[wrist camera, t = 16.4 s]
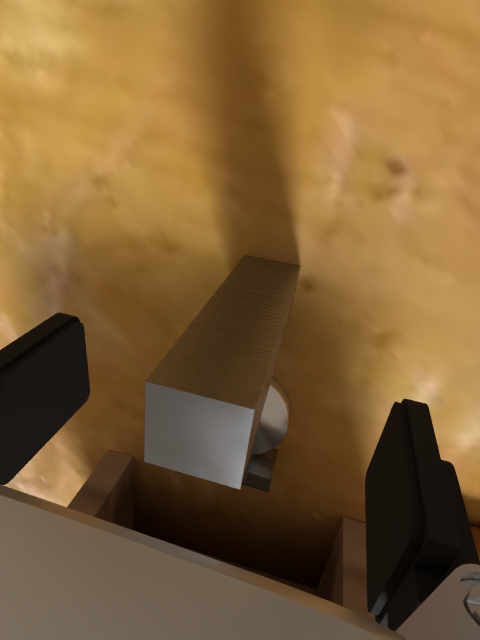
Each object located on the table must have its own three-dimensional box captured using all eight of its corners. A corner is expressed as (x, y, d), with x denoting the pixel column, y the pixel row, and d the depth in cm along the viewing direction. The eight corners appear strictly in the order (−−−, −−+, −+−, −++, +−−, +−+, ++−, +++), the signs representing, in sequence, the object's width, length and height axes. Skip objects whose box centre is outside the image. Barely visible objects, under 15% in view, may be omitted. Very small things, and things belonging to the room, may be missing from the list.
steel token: (202, 353, 25) (194, 367, 23) (297, 372, 24) (295, 388, 22) (198, 427, 27) (190, 443, 26) (283, 446, 26) (280, 463, 25)
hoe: (226, 251, 21) (111, 372, 11) (319, 269, 20) (293, 419, 10) (205, 443, 28) (119, 636, 17) (274, 462, 27) (230, 677, 16)
